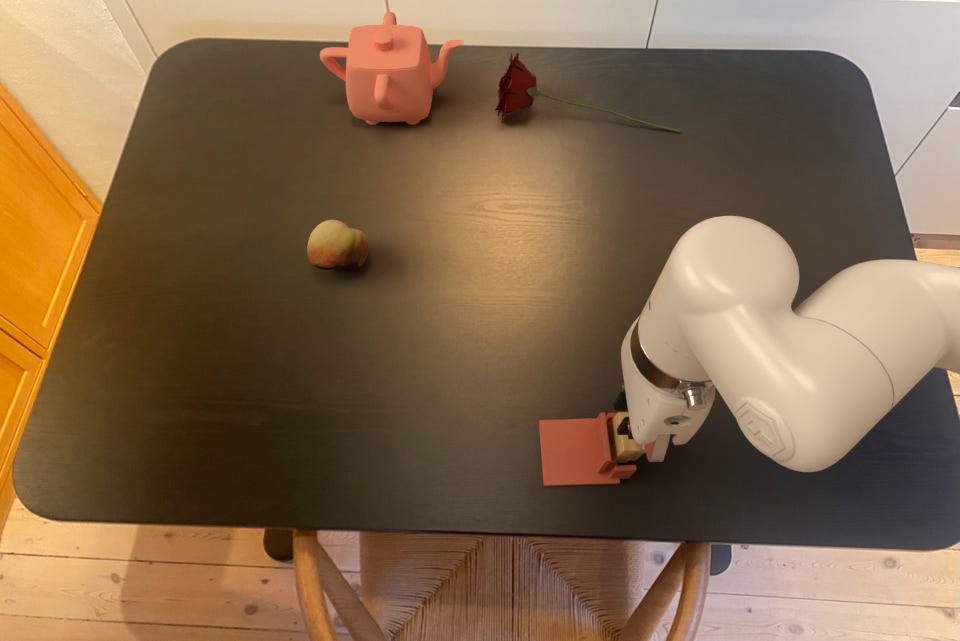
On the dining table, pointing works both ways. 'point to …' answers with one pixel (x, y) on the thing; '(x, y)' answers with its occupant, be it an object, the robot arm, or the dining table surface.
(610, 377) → the dining table surface
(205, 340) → the dining table surface
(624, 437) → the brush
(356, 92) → the teapot
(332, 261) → the fruit
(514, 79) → the flower
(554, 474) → the brush stand
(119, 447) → the dining table surface
